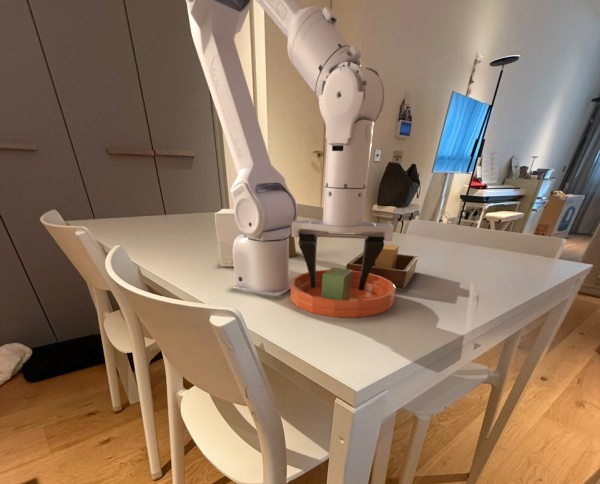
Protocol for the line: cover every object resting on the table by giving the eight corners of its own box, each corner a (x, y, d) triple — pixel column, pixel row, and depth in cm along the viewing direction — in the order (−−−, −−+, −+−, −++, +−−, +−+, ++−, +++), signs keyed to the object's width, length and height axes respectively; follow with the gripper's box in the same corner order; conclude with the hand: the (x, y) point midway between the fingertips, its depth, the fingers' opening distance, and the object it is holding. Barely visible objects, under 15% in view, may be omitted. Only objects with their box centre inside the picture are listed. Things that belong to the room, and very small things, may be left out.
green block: (320, 305, 54) (322, 274, 51) (330, 297, 58) (332, 267, 55) (341, 309, 53) (344, 277, 50) (349, 300, 56) (353, 270, 54)
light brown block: (373, 273, 70) (377, 247, 67) (378, 268, 73) (382, 243, 70) (390, 276, 69) (394, 249, 66) (394, 270, 72) (399, 245, 69)
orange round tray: (273, 308, 54) (272, 290, 52) (313, 280, 67) (314, 265, 65) (377, 328, 49) (381, 308, 47) (400, 294, 61) (403, 277, 60)
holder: (344, 282, 66) (346, 263, 64) (363, 267, 76) (365, 250, 74) (402, 291, 63) (406, 271, 60) (414, 273, 72) (418, 256, 70)
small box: (245, 267, 74) (241, 213, 68) (219, 267, 74) (213, 212, 68) (250, 258, 80) (246, 208, 74) (226, 258, 80) (221, 208, 74)
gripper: (395, 186, 49) (380, 282, 56) (295, 184, 50) (295, 277, 58) (402, 190, 43) (384, 295, 51) (290, 187, 44) (289, 290, 52)
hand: (337, 287), depth 54 cm, fingers open, 7 cm apart
